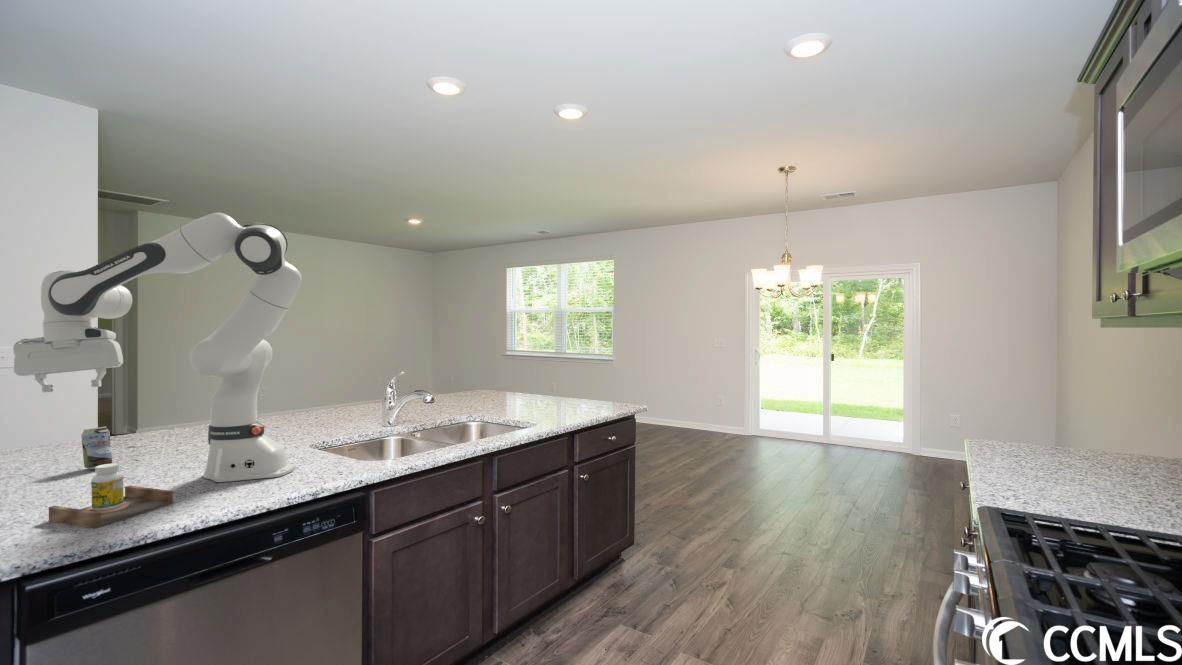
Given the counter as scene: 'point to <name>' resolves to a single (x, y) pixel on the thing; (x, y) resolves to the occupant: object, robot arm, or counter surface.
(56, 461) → the counter surface
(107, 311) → the robot arm
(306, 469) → the counter surface
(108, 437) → the beverage can
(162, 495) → the walled bay
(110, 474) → the supplement bottle
